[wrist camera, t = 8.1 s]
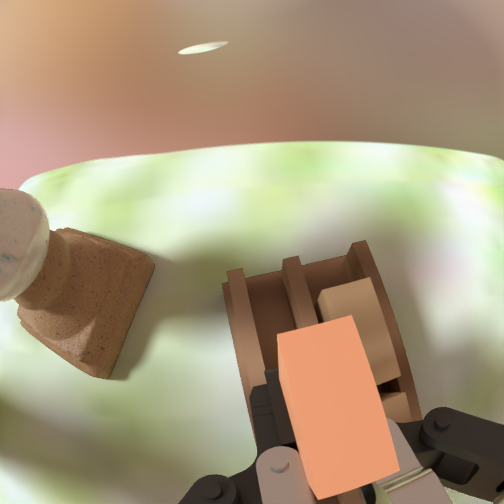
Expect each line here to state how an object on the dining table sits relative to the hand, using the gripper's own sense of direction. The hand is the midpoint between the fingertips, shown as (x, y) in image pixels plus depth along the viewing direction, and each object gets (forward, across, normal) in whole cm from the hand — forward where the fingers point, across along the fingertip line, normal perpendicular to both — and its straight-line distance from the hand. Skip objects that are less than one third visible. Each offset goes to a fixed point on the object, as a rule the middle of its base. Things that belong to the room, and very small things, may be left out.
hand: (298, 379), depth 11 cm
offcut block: (+7, -4, +5) cm, 9 cm away
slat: (+3, 0, +8) cm, 8 cm away
